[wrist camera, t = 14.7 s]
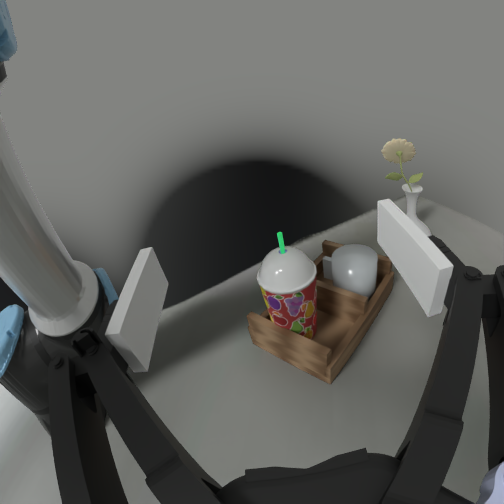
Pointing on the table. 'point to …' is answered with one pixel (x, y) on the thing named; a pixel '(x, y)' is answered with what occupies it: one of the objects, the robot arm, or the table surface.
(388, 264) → the rack
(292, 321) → the smoothie
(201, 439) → the table surface
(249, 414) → the table surface
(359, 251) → the mug
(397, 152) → the flower in vase
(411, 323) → the table surface
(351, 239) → the table surface
